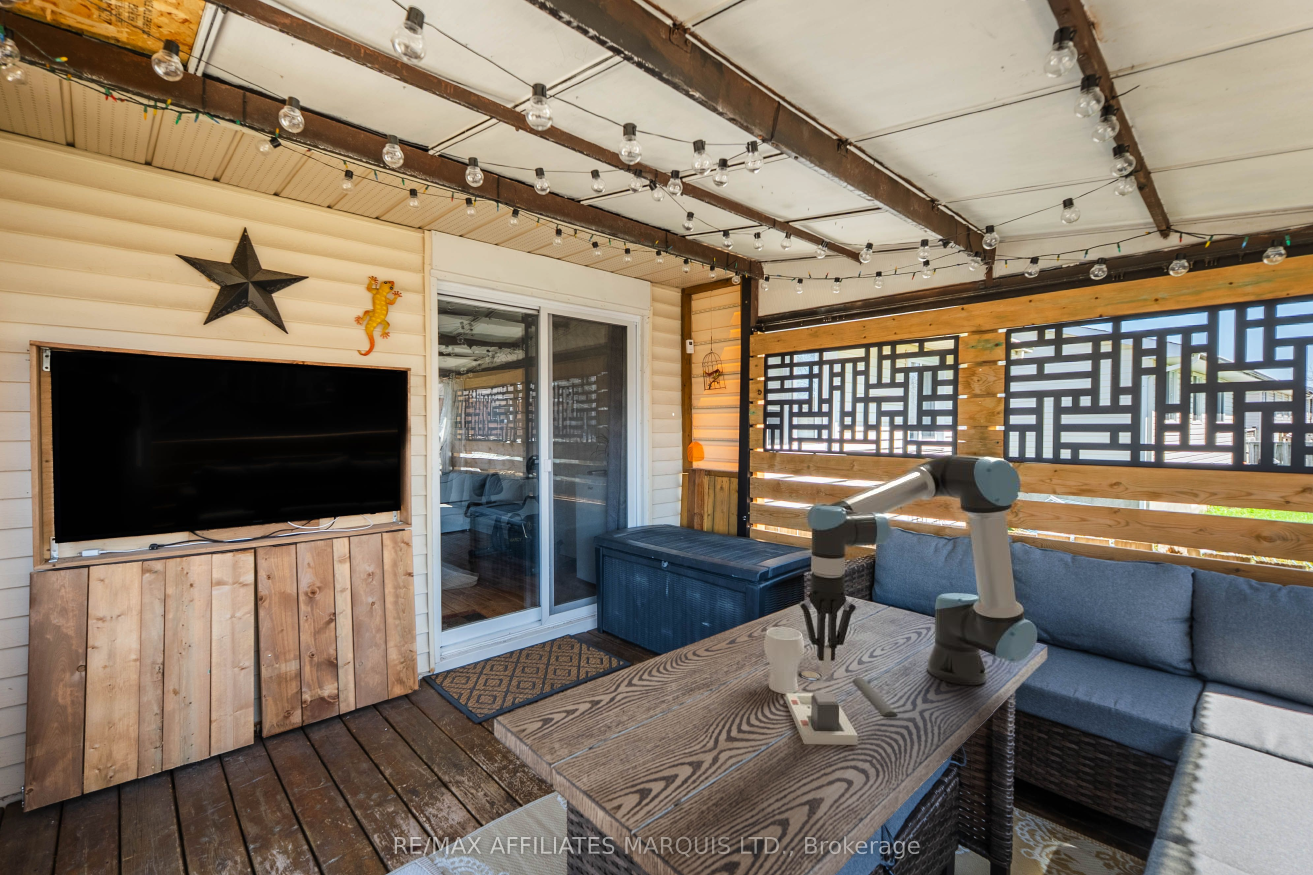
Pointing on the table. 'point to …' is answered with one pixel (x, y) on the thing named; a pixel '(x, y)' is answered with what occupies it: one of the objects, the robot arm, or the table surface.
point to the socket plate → (802, 718)
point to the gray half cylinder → (873, 697)
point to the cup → (783, 657)
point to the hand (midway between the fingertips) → (825, 673)
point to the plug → (824, 712)
